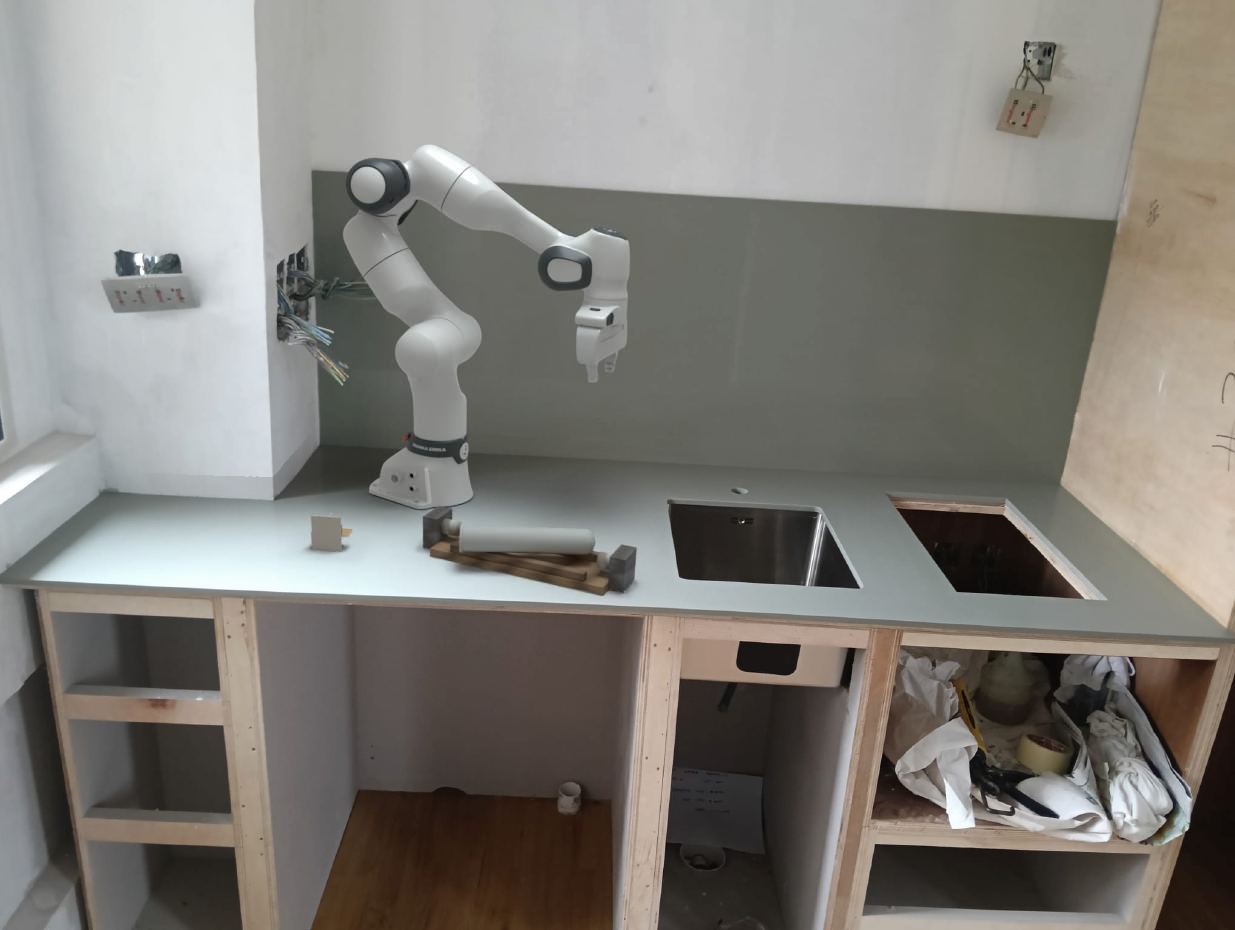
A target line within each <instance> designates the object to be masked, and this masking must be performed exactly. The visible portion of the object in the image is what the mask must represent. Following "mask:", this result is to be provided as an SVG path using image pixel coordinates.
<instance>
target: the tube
mask: <svg viewBox="0 0 1235 930" xmlns="http://www.w3.org/2000/svg"><path fill="white" fill-rule="evenodd" d="M595 537H596V536H595V532H593V531H591V530H590V529H587V528H563V527H562V528H561V527H539V526H538V527H535V526H533V527H532V526H531V527H530V526H512V525H511V526H502V525H483V524H482V525H481V524H480V525H479V524H478V525H476V524H465V523H463V522H462V523H461V525H460V537H459V551H460V552H463V551H473V552H504V553H535V554H566V555H587V554H590V553H592V552H593V551H595V550H594V549H595V546H596V542H597V541H596V538H595Z"/></svg>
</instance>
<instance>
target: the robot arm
mask: <svg viewBox="0 0 1235 930" xmlns="http://www.w3.org/2000/svg"><path fill="white" fill-rule="evenodd" d="M345 190H346V193H347V196H348V198H349V200H350V201H351V203H352V205H354V206H356V208H357V209H358V212H357V213H356V215H354V216H352V217H351V218H350V219H349V220H348V222H347V223H346V225H345V226H344V228H343V231H342V237H343V241H344V244H345V246H346V248H347V250H348V252H349V255H350V257H351V259H352V260H353V263H354V264H355V266H356V268H357V269H358V271H359V273H360V274H361V276H362V278H363V279H364V280H365V282H366V284H367V285H368V287H369V288H370V289H371V291H372V292H373V294H374V295H375V297H376V298H377V300H378V302H379V303H380V304H381V306H382V307H383V309H384V310H385V311H387V312H388V313H389V314H391V315H393V316H395V317H397V318H398V319H400V320H401V321H402V322H403V323H404V324H406V326H407V327H409V328H408V329H407V330H405V332H404V333H403V334H402V335H401V337H400V338H399V339H397V342H396V345H395V348H394V355H395V356H394V357H395V360H396V363H397V364H398V366H399V368H400V369H401V370H402V372H403V373H405V374H406V377H407V379H408V383H409V386H410V390H411V395H412V405H413V409H412V410H413V430H411V431H409V432H407V434H405V435H404V436H402V438H403V439H402V442H406V441H407V444H406V445H405V447H404V448H402V449H401V450H399V451H398V452H396V453H395V454H394V455H391V456H390V457H389V458H388V459H386V461H384V462H383V464H382V465H381V466H382V467H381V470H380V474H379V477H378V478H377V479H375V480H374V481H373V482H372V483H370V485H369V489H368V493H369V494H371V495H373V496H377V497H380V498H383V499H386V500H389V501H392V502H395V503H398V504H401V505H405V506H407V507H410V508H413V509H416V510H424V509H425V510H426V509H430V508H436V507H438V506H442V507H451V506H457V505H461V504H463V503H466V502H468V501H469V500H472V498H473V496H474V491H473V488H472V485H471V484H472V483H471V481H470V474H469V473H470V472H469V466H468V465H469V464H468V458H469V457H468V456H469V432H468V431H467V420H468V419H467V415H468V414H467V412H468V410H467V407H468V405H467V404H468V401H467V397H466V395H465V394H464V393H463V391H462V390H461V387H460V383H459V378H458V372H457V371H458V367H459V365H461V364H463V363H465V362H467V361H468V360H469V359H471V358H472V356H473V355H475V353H476V352H477V350H478V348H479V347H480V345H481V344H482V338H483V336H482V329H481V326H480V325H479V323H478V321H477V320H476V319H475V318H474V317H473V316H472V315H470V314H468V313H466V312H465V311H463V310H461V309H460V308H459V307H458V306H457V305H455V303H453V301H452V300H450V299H449V298H448V297H447V296H446V294H444V292H442V291H441V290H440V289H439V287H437V285H435V283H434V282H433V281H432V280H431V279H430V276H429V275H428V274H427V273H426V271H425V270H424V268H423V266H422V265H421V263H420V262H419V261H418V260H417V258H416V257H415V255H414V254H413V252H412V251H411V249H410V247H409V246H408V244H407V243H406V242H405V240H404V239H403V237H402V235H401V233H400V232H399V229H398V226H401V225H402V224H403V223H404V221H405V220H406V219H407V217H408V216H409V214H410V213H412V211H413V210H414V209H415V207H416V206H417V204H418V202H419V200H421V201H424V202H425V203H427V204H429V205H430V206H432V207H434V208H435V209H436V210H438V211H439V212H440V213H441V214H443V215H445V216H446V217H447V218H449V219H450V220H452V221H454V222H455V223H457V224H459V225H461V226H463V227H465V228H468V229H470V230H473V231H487V232H488V231H491V232H497V233H502V234H506V235H508V236H511V237H513V238H514V239H516V240H518V241H520V242H521V243H522V244H524V245H525V246H527V247H529V248H530V249H532V250H533V251H535V252H536V253H537V254H539V255H540V256H539V259H538V262H537V272H538V277H539V278H540V280H541V282H542V283H543V284H544V285H545V286H546V287H547V288H549V289H550V290H552V291H555V292H563V293H564V292H569V291H570V292H571V291H577V290H578V291H579V290H582V291H584V292H583V301H582V304H581V306H580V308H579V310H577V312H576V314H575V316H574V322H575V325H578V326H577V328H576V335H575V336H576V337H575V338H576V339H575V343H576V344H575V353H576V354H575V355H576V356H575V357H576V360H577V362H578V363H579V364H581V365H585V368H586V372H587V382H588V383H591V384H592V383H593V384H595V383H597V382H598V381H599V375H600V374H599V373H598V367H599V363H600V362H601V361H603V360H605V363H604V369H603V370H604V372H605V373H610V374H611V373H613V372H614V371H615V366H616V362H617V359H618V357H619V356H618V355H619V351H620V350H622V349H623V348H625V347H626V345H627V343H628V318H627V317H628V316H627V315H628V299H629V295H628V294H629V293H628V289H627V288H628V287H627V285H628V280H629V278H630V273H631V272H630V270H631V269H630V267H631V251H630V250H631V249H630V243H629V240H628V238H627V237H626V235H625V234H624V233H622V232H620V231H618V230H616V229H612V228H609V227H602V226H595V227H592V228H591V229H590V230H588V231H586V232H585V233H582V234H580V235H578V234H572V233H568V232H565V231H562V230H560V229H558V228H557V227H555V226H553V225H552V224H550V223H549V222H547V220H545V219H543V218H541V217H540V216H539V215H536V214H535V212H532V211H531V210H529V209H527V208H526V207H525V206H524V205H522V204H520V203H519V202H518V201H517V200H515V199H514V198H513V197H511V196H510V195H509V194H508V193H506V192H505V191H503V190H502V189H501V188H500V186H498V185H497V184H496V182H494V181H492V180H491V179H490V178H488V177H487V176H486V175H485V174H484V173H482V172H481V171H480V170H478V169H477V168H476V167H474V165H471V164H470V163H468V162H467V161H465V160H464V159H462V158H461V157H459V156H458V155H455V154H454V153H452V152H450V151H448V150H446V149H445V148H441V147H439V146H437V145H434V144H424V145H421V146H420V147H417V149H416V150H415V151H414V152H412V154H411V155H410V157H409V158H408V159H407V161H405V162H403V163H402V162H401V160H399V159H393V158H391V159H390V158H382V157H370V158H369V157H368V158H364V159H362V160H359V161H358V162H356V163H355V164H353V165H352V167H350V169H349V171H348V173H347V175H346V179H345Z"/></svg>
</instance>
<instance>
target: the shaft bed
mask: <svg viewBox="0 0 1235 930" xmlns="http://www.w3.org/2000/svg"><path fill="white" fill-rule="evenodd" d="M461 523H462V524H463V522H462V521H460V520H456V519H453V508H452V507H451V508H450V507H448V506H438V507H434V508H433V509H432V510H430V511H428V512H427V513H426V514H424V515H422V549H426V550H429V556H430V557H434V558H438V559H443V560H447V561H452V562H455V563H461V564H465V565H468V566H473V567H477V568H482V569H485V570H486V569H487V570H492V571H494V572H495V571H496V572H501V573H504V574H508V575H513V576H517V577H521V578H524V579H525V578H526V579H530V580H534V581H538V582H539V581H540V582H542V583H548V584H552V585H556V586H561V587H566V588H569V589H573V590H578V591H582V592H587V593H592V594H595V595H600V596H604V594H605V593H607V591H608V590H609V591H613V592H617V593H622V594H624V593H625V592H626V591H627V590H628V588H629V587H630V585H631V584H632V583H633V581H635V579H636V578H635V576H636V574H635V573H636V562H637V550H638V549H637V547H636V546H631V545H628V544H627V545H626V544H620V545H619V546H618V547H617V549H615V550H614V551H613V553H609V552H604V551H596V550H593V552H592V553H590V554H587V555H566V554H535V553H504V552H473V551H463V552H460V551H459V537H460V525H461Z"/></svg>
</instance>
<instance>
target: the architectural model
mask: <svg viewBox="0 0 1235 930" xmlns="http://www.w3.org/2000/svg"><path fill="white" fill-rule="evenodd" d="M332 514H333V513H332V512H330V513H329V514H328V515H314V514H312V515H310V523H311V531H310V537H311V538H310V540H311V550H313V551H326V552H327V551H328V552H343V545H342V543H343V542H342V540H343V539H342V538H349V537H350V535H351V534H352V532H353V528H347V527H345V528H344V527H343V524H342V517H341V516H332Z"/></svg>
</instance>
